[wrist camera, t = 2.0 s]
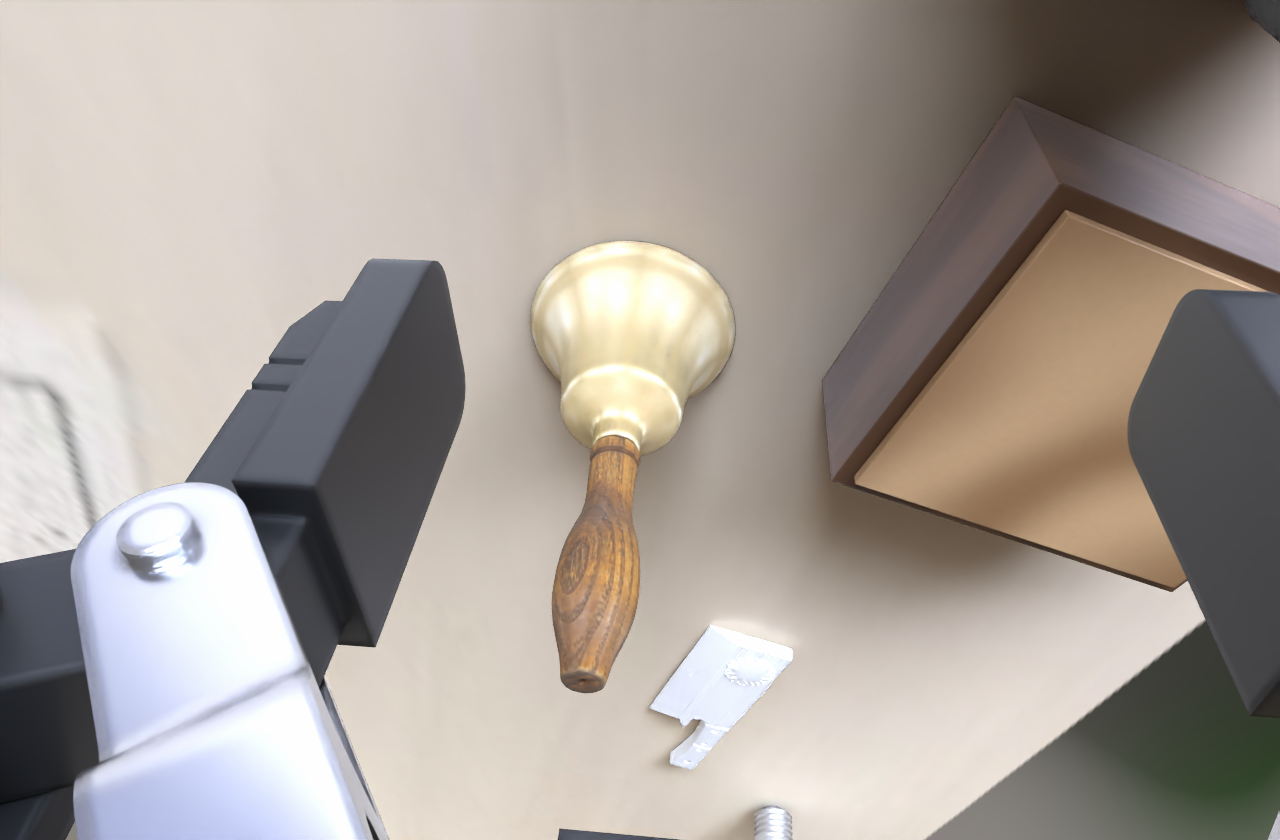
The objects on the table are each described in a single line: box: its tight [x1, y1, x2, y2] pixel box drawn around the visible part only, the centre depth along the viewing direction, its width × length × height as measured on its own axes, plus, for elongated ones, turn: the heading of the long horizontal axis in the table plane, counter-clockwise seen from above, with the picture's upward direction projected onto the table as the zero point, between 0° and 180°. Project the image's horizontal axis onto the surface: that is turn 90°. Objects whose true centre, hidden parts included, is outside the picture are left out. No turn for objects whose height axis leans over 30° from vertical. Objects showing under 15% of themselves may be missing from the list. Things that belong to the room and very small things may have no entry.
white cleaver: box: [650, 625, 792, 770], centre depth 54 cm, size 5×15×1 cm, turn 160°
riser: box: [823, 97, 1280, 592], centre depth 31 cm, size 15×13×6 cm
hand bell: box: [530, 241, 735, 693], centre depth 30 cm, size 8×8×16 cm
